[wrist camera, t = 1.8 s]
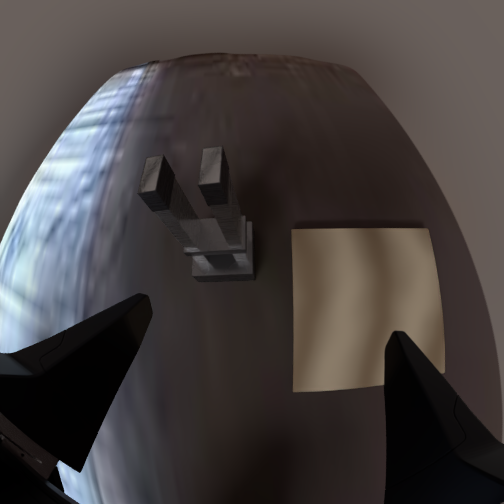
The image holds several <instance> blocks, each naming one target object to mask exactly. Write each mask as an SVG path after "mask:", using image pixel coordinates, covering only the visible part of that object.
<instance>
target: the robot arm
mask: <svg viewBox="0 0 504 504" xmlns="http://www.w3.org/2000/svg"><path fill="white" fill-rule="evenodd" d="M152 314H153V311H152V307H151V303H150V299H149V297H148V295H145V294H141V293H138V294H135V295H133V296H131V297H129V298H127V299H125V300H123V301H121V302H119V303H117V304H115V305H113V306H111V307H109V308H107V309H105V310H103V311H101V312H99V313H97V314H95V315H93V316H91V317H89V318H88V319H86V320H84V321H82V322H80V323H78V324H76V325H74V326H72V327H70V328H68V329H66V330H64V331H62V332H60V333H58V334H56V335H54V336H52V337H50V338H48V339H45V340H43V341H41V342H39V343H36V344H34V345H31V346H29V347H27V348H24V349H22V350H19V351H17V352H14V353H0V504H79V503H78V502H76V501H75V500H73V499H72V498H70V497H69V496H68V495H66V494H65V493H64V492H65V491H64V488H63V485H62V482H61V478H60V475H59V471H58V468H57V466H56V465H57V463H58V461H59V460H60V461H62V462H63V463H65V464H66V465H68V466H69V467H71V468H73V469H74V470H76V471H77V472H79V473H80V472H81V471H82V469H83V466H84V464H85V461H86V459H87V457H88V454H89V452H90V450H91V447H92V445H93V443H94V441H95V438H96V436H97V434H98V431H99V429H100V427H101V425H102V423H103V421H104V418H105V416H106V414H107V412H108V410H109V408H110V406H111V404H112V402H113V399H114V397H115V395H116V393H117V391H118V389H119V387H120V385H121V383H122V381H123V379H124V377H125V375H126V373H127V371H128V369H129V367H130V365H131V364H132V362H133V360H134V358H135V356H136V354H137V352H138V350H139V348H140V345H141V343H142V341H143V338H144V336H145V333H146V331H147V328H148V326H149V323H150V321H151V318H152ZM384 396H385V412H386V485H385V489H386V490H385V498H384V504H504V444H503V443H501V442H499V441H498V440H497V439H496V438H495V437H494V436H493V435H492V434H491V432H490V431H489V430H488V429H487V428H486V427H485V426H484V425H483V424H482V423H481V421H480V420H479V419H478V418H477V417H476V416H475V415H474V414H473V413H472V411H471V410H470V409H469V408H468V407H467V405H466V404H465V403H464V402H463V400H462V399H461V398H460V396H459V395H457V393H456V392H455V390H454V389H453V388H452V387H451V385H450V384H449V383H448V382H447V380H446V379H445V378H444V377H443V375H442V374H441V373H440V372H439V371H438V369H437V368H436V367H435V366H434V365H433V363H432V362H431V361H430V360H429V359H428V358H427V356H426V355H425V354H424V353H423V352H422V351H421V349H420V348H419V347H418V346H417V345H416V344H415V343H414V341H413V340H412V339H411V338H410V337H409V336H408V335H407V334H406V332H404V331H398V330H395V331H393V332H392V334H391V336H390V338H389V340H388V342H387V344H386V346H385V351H384Z"/></svg>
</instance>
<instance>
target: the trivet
mask: <svg viewBox="0 0 504 504" xmlns="http://www.w3.org/2000/svg"><path fill="white" fill-rule="evenodd" d="M291 242H292V274H293V392H312V391H330V390H342V389H353V388H362V387H370V386H378V385H384V351H385V346H386V344H387V342H388V340H389V338H390V336H391V334H392V332H393V331H395V330H398V331H404V332H406V334H407V335H408V336H409V337H410V338H411V339H412V340H413V341H414V343H415V344H416V345H417V346H418V347H419V348H420V349H421V351H422V352H423V353H424V354H425V355H426V356H427V358H428V359H429V360H430V361H431V362H432V363H433V365H434V366H435V367H436V368H437V369H438V371H439V372H440V373H445V343H444V326H443V314H442V304H441V296H440V288H439V281H438V275H437V269H436V263H435V258H434V253H433V248H432V243H431V239H430V234H429V230H428V229H421V228H344V229H291Z"/></svg>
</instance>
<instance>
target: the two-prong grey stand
mask: <svg viewBox="0 0 504 504" xmlns="http://www.w3.org/2000/svg"><path fill="white" fill-rule="evenodd" d="M198 186H199V188H200V190H201V192H202V194H203V196H204V199H205V201H206V203H207V205H208V206H210V208H211V210H212V212H213V214H214V217H215V218H208V219H199V218H198V216H197V214H196V213H195V211H194V209H193V208H192V206H191V204H190V202H189V201H188V199H187V197H186V196H185V194H184V192H183V190H182V189H181V187H180V185H179V183H178V182H177V180H176V178H175V174H174V172H173V171H172V169H171V167H170V165H169V163H168V162H167V160H166V158H165V156H164V154H163V155H158V156H153V157H148V158H146V161H145V165H144V169H143V173H142V177H141V181H140V185H139V189H138V193H137V194H138V195H139V196H140V197H141V198H142V200H143V201H144V202H145V203H146V205H147V206H148V207H149V208H150V209H151V211H152V212H155V214H156V215H157V216H158V217H159V218H160V220H161V221H162V222H163V223H164V224H165V226H166V227H167V228H168V229H169V230H170V232H171V233H172V234H173V235H174V236H175V237H176V239H177V240H178V241H179V242H180V243H181V244H182V246H183V247H184V254H185V255H186V256H192V257H193V267H192V276H193V277H194V278H195V279H196V280H197V281H198V282H222V281H248V280H255V245H254V228H253V224H252V222H247V220H246V216H242V214H241V210H240V207H239V204H238V200H237V197H236V193H235V190H234V187H233V183H232V180H231V177H230V173H229V166H228V163H227V159H226V156H225V152H224V149H223V146H216V147H208V148H203V149H202V157H201V165H200V173H199V182H198Z"/></svg>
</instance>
